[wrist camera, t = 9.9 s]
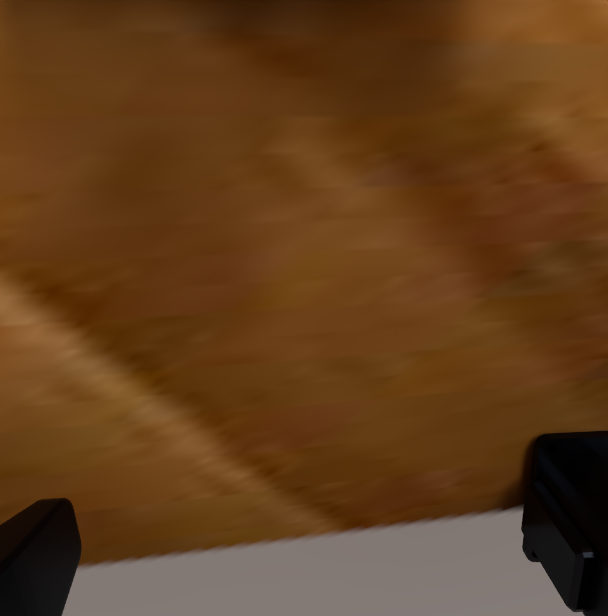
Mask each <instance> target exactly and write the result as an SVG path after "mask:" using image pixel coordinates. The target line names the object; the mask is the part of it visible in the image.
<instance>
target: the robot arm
mask: <svg viewBox="0 0 608 616" xmlns="http://www.w3.org/2000/svg"><path fill="white" fill-rule="evenodd" d="M550 444H552V446H551V447H550V448H548V449H545V448H546V447H547V446H548V445H550ZM521 530H522V532H523V534H524V538H523V546H522V547H523V552H524V553H525V555H526V557H527V558H528V560H530V561H532V562H540V563H541V564H542V566H543V568H544V569H545V571H546V573H547V574H548V576H549V577H550V579H551V581H552V582H553V584H554V586H555V588H556V589H557V591H558V593H559V594H560V596H561V598H562V599H563V601H564V603H565V604H566V606H567V607H568V608H569V609H571V610H572V611H573V612H583V614H584V615H585V616H608V431H594V432H573V433H553V434H544V435H542V436H540V437H539V438H538V439H537V440H536V442H535V446H534V454H533V462H532V471H531V479H530V481H529V483H528V484H527V486H526V493H525V501H524V510H523V519H522V527H521ZM80 556H81V539H80V534H79V530H78V526H77V521H76V517H75V513H74V509H73V505H72V503H71V502H70V500H68V499H66V498H52V499H41V500H38V501H36V502H35V503H33V504H32V505H30V506H29V507H27V508H26V509H24V510H23V511H21V512H20V513H18V514H16V515H15V516H13V517H12V518H10V519H9V520H7V521H6V522H4V523H3V524H1V525H0V616H61V615H62V613H63V610H64V607H65V604H66V600H67V597H68V594H69V591H70V588H71V585H72V582H73V579H74V576H75V573H76V569H77V566H78V563H79V560H80Z"/></svg>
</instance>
